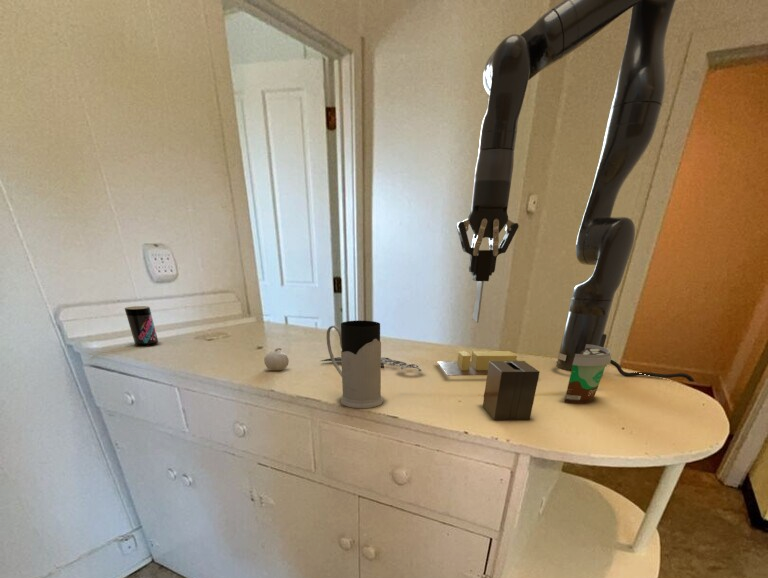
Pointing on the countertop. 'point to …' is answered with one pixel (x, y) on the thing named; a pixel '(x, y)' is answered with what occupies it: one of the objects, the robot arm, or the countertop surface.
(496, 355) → the butter
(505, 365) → the knife block
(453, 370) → the rectangular tray
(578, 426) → the countertop surface
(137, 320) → the supplement container
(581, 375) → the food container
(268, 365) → the garlic
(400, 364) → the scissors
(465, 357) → the butter slice
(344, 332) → the glass holder
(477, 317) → the kitchen knife
